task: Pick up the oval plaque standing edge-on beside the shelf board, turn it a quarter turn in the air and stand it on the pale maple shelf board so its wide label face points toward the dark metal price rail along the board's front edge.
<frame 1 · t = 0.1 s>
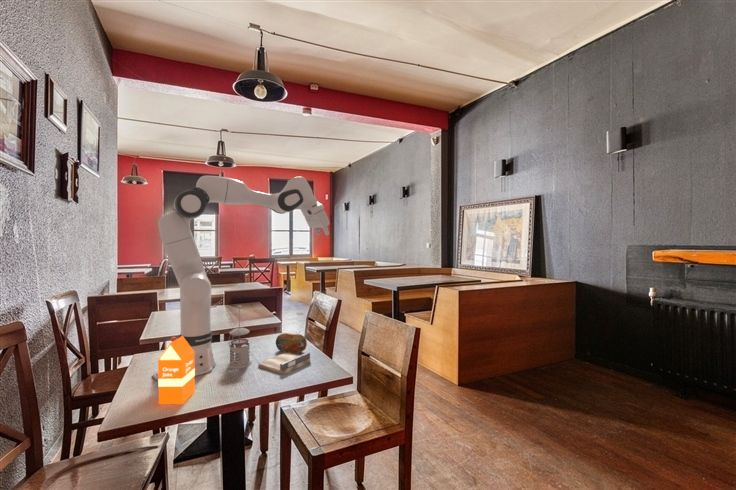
hand: (324, 234, 169), 54 cm above the table, tool tilted 30°, fingers open, 8 cm apart
french press: (238, 364, 149), on the table
price rail: (295, 367, 145), resting on shelf board
shelf board: (284, 364, 148), on the table
orange juice: (177, 399, 118), on the table
oval plaque: (291, 352, 164), on the table
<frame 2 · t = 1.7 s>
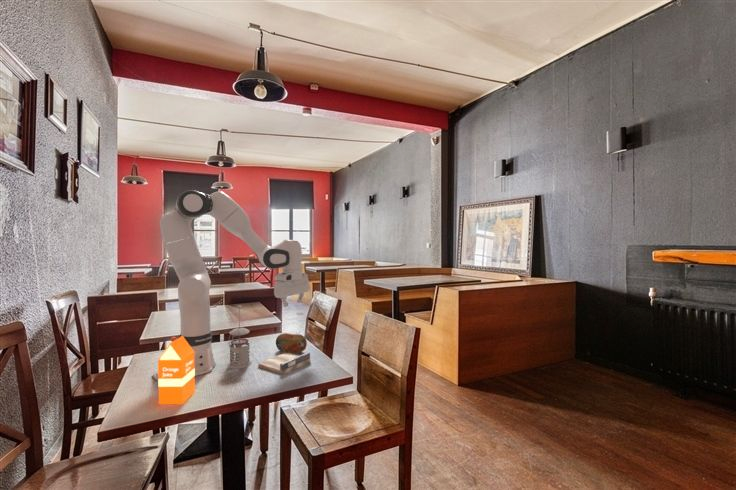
hand: (293, 304, 164), 22 cm above the table, tool pointing down, fingers open, 8 cm apart
nothing on the table moved.
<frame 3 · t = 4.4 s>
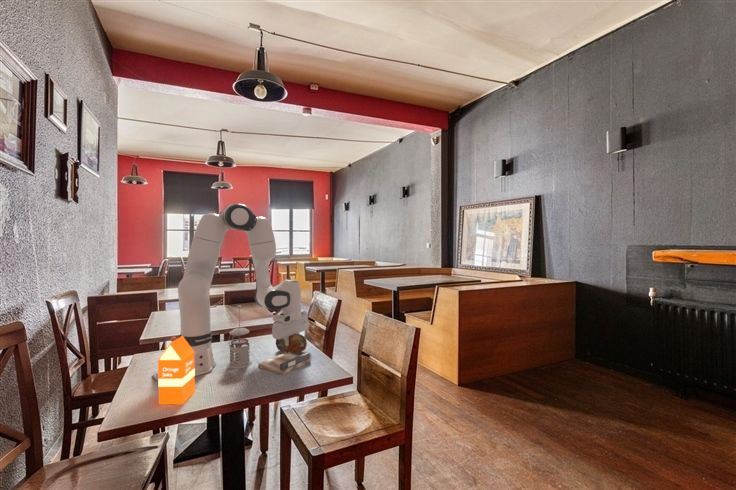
hand: (291, 343, 164), 4 cm above the table, tool pointing down, fingers closed on oval plaque, 3 cm apart
oval plaque: (291, 352, 164), on the table, touching gripper
everything else where it was.
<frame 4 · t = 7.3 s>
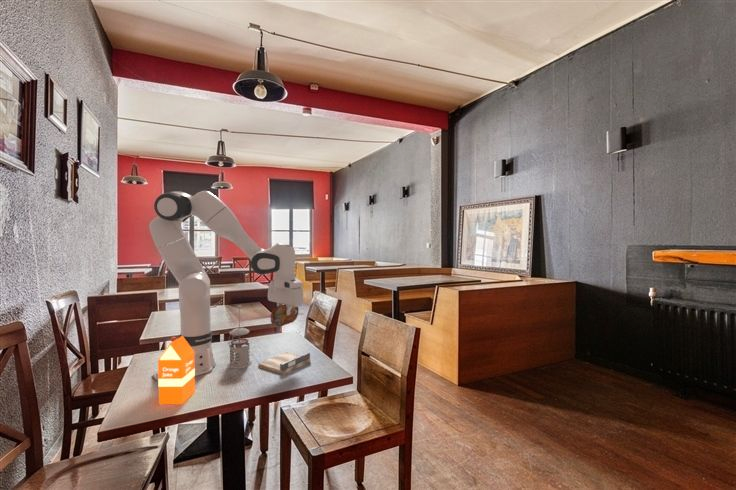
hand: (284, 314, 150), 21 cm above the table, tool pointing down, fingers closed on oval plaque, 3 cm apart
oval plaque: (283, 324, 150), point 16 cm above the table, touching gripper
everything else where it was.
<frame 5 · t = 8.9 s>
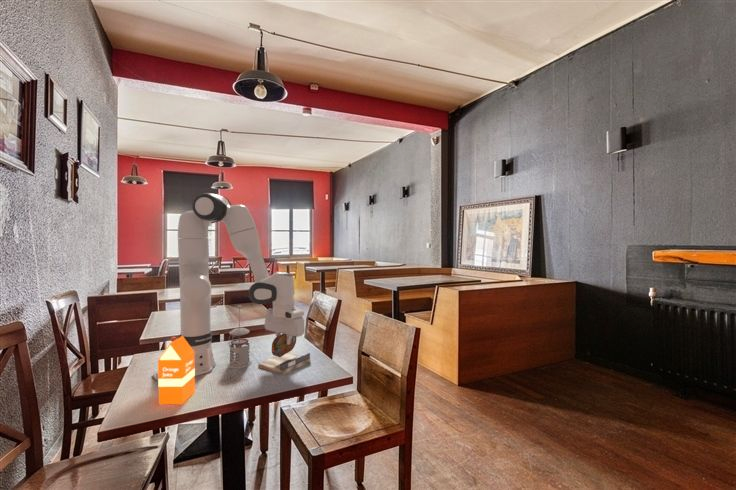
hand: (284, 343, 148), 9 cm above the table, tool pointing down, fingers closed on oval plaque, 3 cm apart
oval plaque: (283, 353, 149), point 4 cm above the table, touching gripper
everything else where it was.
when the fingers open (6 cm above the table, at t = 10.1 s): oval plaque stays where it is, resting on shelf board.
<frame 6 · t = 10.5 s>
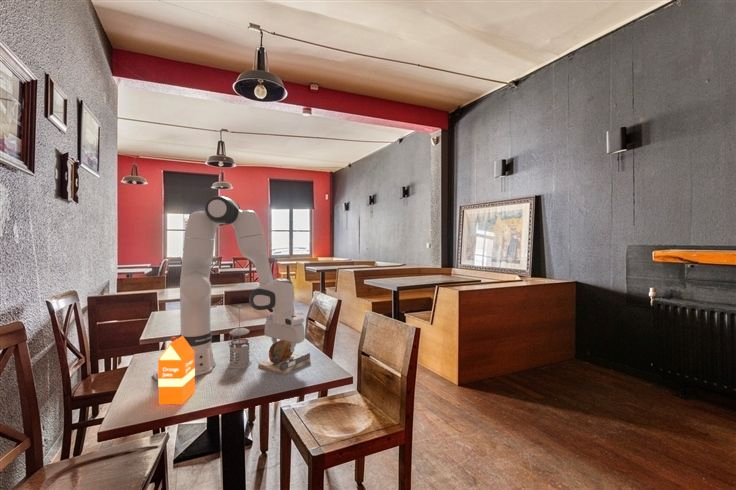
hand: (283, 349, 148), 6 cm above the table, tool pointing down, fingers open, 8 cm apart
oval plaque: (281, 360, 149), point 1 cm above the table, touching shelf board
everything else where it was.
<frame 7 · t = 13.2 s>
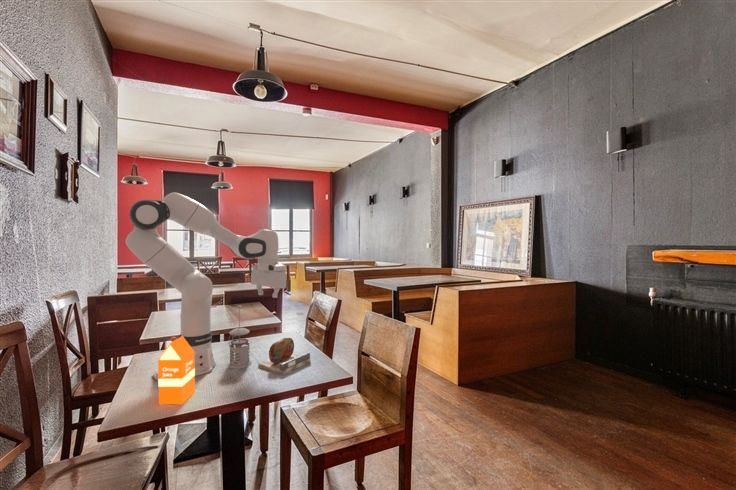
hand: (267, 296, 159), 27 cm above the table, tool pointing down, fingers open, 8 cm apart
nothing on the table moved.
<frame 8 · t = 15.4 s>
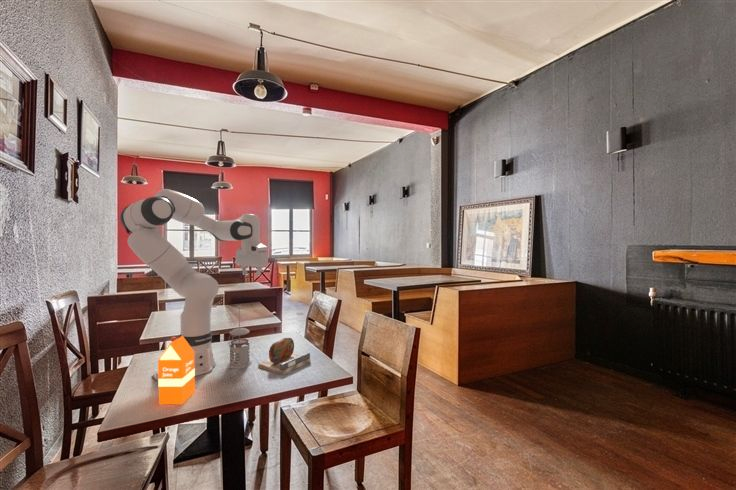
hand: (251, 275, 173), 34 cm above the table, tool pointing down, fingers open, 8 cm apart
nothing on the table moved.
at the end: oval plaque 1.5 cm off-centre on the shelf board, point 1.3 cm above the shelf board's base; oval plaque tilted 0°; oval plaque touching shelf board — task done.
